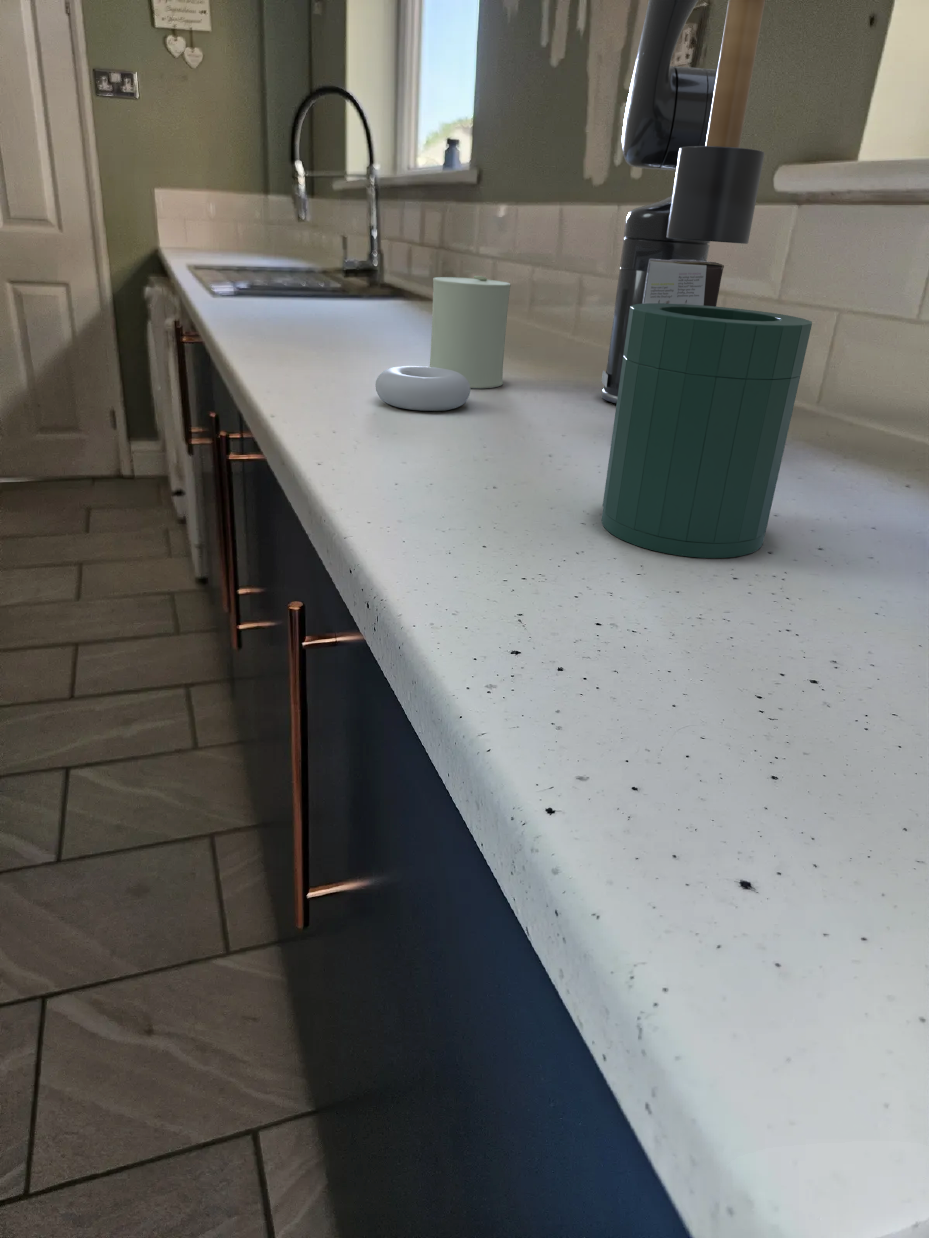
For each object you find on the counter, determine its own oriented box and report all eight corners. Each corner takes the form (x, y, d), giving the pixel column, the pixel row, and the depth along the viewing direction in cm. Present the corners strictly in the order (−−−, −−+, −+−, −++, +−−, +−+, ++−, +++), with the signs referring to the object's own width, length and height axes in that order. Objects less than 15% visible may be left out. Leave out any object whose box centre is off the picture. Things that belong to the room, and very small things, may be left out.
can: (512, 381, 109) (521, 278, 104) (488, 392, 101) (496, 281, 96) (444, 372, 112) (450, 271, 107) (415, 382, 104) (420, 274, 99)
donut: (434, 420, 86) (487, 404, 94) (436, 384, 85) (489, 372, 92) (355, 404, 91) (411, 390, 98) (355, 370, 89) (412, 359, 97)
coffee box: (692, 453, 80) (725, 264, 73) (621, 445, 81) (648, 258, 74) (688, 432, 88) (718, 260, 81) (624, 425, 89) (649, 255, 82)
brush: (687, 239, 57) (747, -146, 49) (760, 245, 55) (837, -162, 46) (652, 237, 54) (711, -179, 46) (728, 242, 51) (806, -199, 43)
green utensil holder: (646, 496, 66) (677, 301, 60) (786, 532, 60) (835, 320, 54) (571, 526, 58) (598, 306, 52) (723, 571, 52) (773, 329, 46)
